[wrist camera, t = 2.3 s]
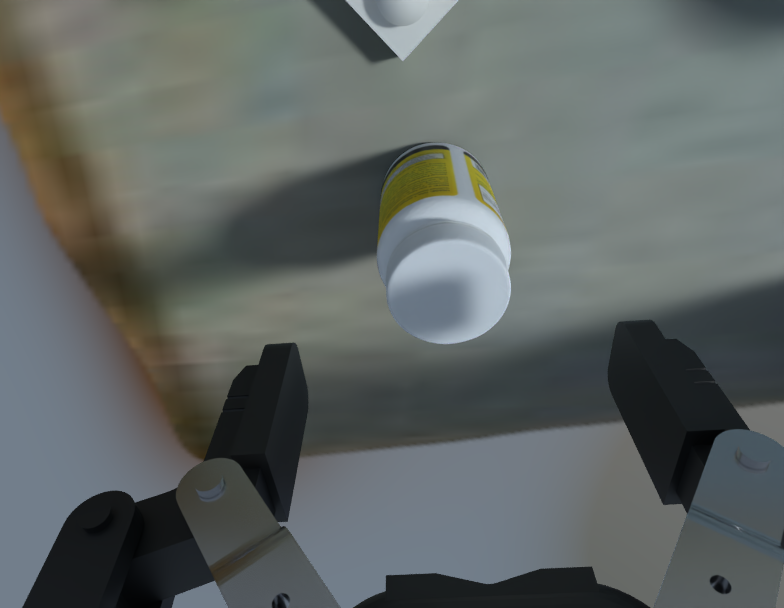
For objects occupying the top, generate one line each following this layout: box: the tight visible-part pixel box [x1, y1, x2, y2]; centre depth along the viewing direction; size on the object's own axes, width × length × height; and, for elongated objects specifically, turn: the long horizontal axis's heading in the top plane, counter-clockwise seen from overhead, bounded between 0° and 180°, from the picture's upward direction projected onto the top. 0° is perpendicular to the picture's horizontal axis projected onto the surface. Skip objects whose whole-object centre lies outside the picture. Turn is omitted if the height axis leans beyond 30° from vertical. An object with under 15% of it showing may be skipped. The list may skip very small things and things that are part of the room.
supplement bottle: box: [377, 143, 511, 344], centre depth 21 cm, size 5×5×8 cm
